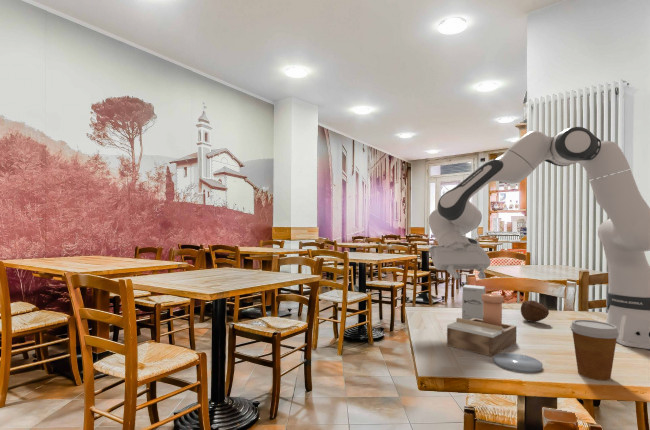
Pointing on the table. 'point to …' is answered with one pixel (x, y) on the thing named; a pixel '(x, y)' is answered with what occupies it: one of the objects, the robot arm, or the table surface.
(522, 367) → the saucer
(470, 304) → the supplement box
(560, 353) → the table surface
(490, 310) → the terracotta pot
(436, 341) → the table surface
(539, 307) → the potato
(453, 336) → the wooden box
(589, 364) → the disposable coffee cup
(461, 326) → the lid panel
